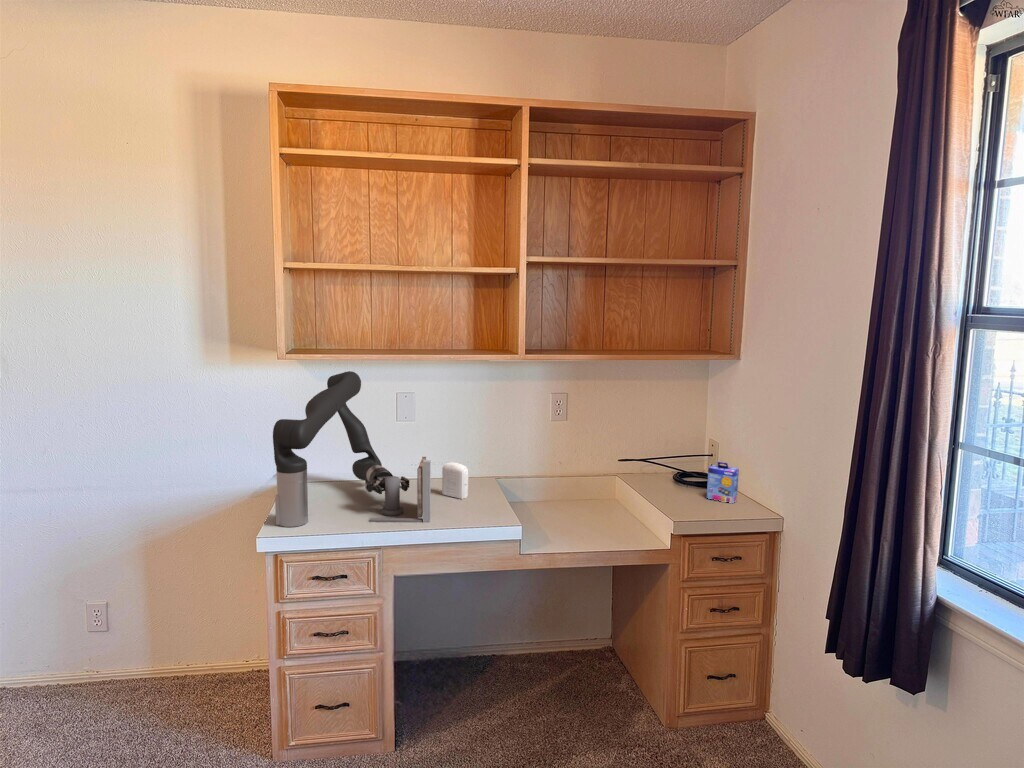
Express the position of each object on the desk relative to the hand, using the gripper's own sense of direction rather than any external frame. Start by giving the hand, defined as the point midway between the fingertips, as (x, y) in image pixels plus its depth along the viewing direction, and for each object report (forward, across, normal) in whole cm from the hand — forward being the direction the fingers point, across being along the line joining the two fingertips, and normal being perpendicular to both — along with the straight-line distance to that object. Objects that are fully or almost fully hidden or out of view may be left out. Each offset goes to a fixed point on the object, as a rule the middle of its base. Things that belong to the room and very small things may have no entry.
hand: (393, 489), depth 231 cm
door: (+3, +9, +7) cm, 12 cm away
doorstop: (-2, 0, +8) cm, 9 cm away
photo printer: (-11, +27, +9) cm, 30 cm away
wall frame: (+7, 0, +9) cm, 11 cm away
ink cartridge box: (+32, +113, +9) cm, 118 cm away
